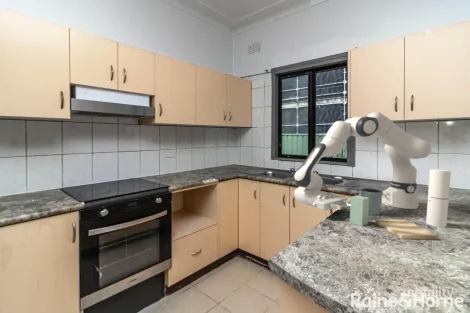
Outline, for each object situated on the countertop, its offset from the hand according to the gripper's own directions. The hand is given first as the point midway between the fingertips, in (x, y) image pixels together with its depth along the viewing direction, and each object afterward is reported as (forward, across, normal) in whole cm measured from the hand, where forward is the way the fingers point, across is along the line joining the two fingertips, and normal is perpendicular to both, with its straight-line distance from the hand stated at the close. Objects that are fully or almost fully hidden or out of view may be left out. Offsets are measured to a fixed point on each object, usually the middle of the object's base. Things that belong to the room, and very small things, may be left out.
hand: (346, 206), depth 114 cm
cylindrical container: (+27, +28, +7) cm, 40 cm away
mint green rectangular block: (+6, 0, +6) cm, 9 cm away
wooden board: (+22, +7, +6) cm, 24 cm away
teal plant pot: (+2, +21, +7) cm, 22 cm away
